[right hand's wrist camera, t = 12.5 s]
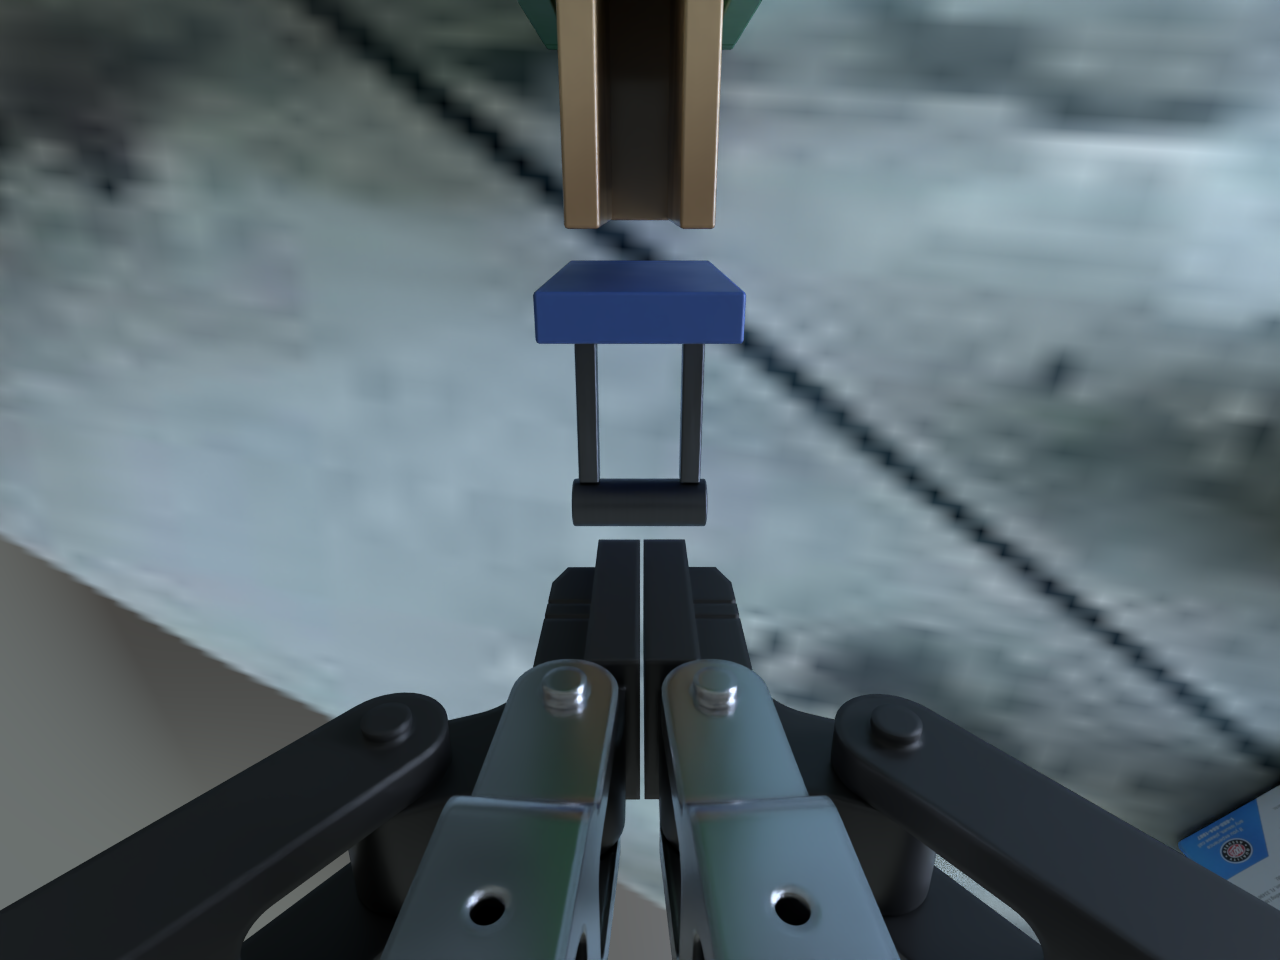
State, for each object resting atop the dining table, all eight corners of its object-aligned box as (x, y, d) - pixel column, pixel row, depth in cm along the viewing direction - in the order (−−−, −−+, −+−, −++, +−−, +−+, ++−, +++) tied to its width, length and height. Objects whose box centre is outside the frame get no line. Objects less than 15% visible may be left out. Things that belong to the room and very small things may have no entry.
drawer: (702, 458, 27) (731, 574, 19) (576, 457, 27) (547, 574, 19) (736, -479, 18) (822, -1088, 9) (543, -479, 18) (457, -1087, 10)
